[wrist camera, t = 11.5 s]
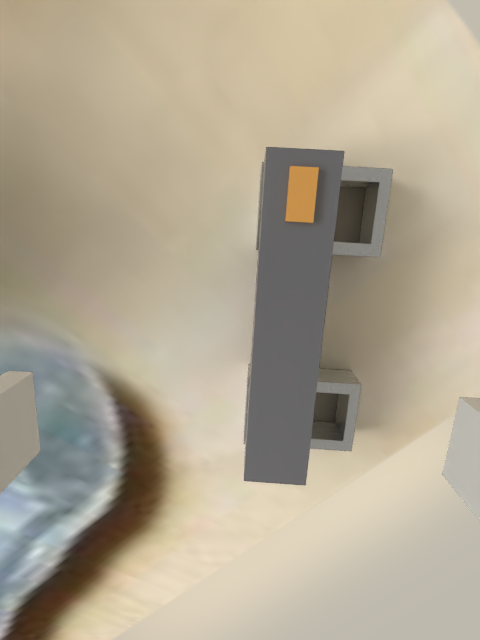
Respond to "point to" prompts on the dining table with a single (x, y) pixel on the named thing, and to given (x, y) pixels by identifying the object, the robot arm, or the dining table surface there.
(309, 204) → the grey rectangular bar
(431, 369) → the dining table surface
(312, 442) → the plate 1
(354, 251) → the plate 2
